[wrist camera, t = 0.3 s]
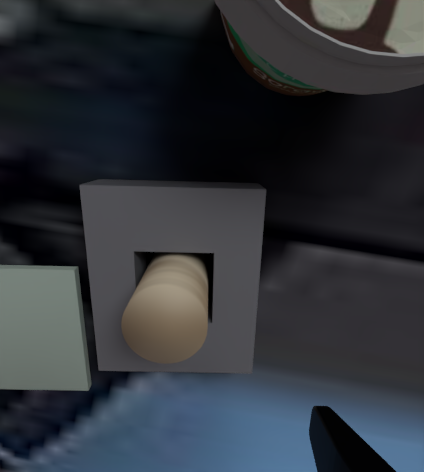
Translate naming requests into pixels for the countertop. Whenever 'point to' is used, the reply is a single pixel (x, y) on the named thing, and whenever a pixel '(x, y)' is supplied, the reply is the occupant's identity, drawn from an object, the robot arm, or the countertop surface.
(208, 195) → the grey square frame
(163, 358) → the plug
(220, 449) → the countertop surface
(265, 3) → the food container
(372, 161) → the countertop surface
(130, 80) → the countertop surface
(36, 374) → the mat
